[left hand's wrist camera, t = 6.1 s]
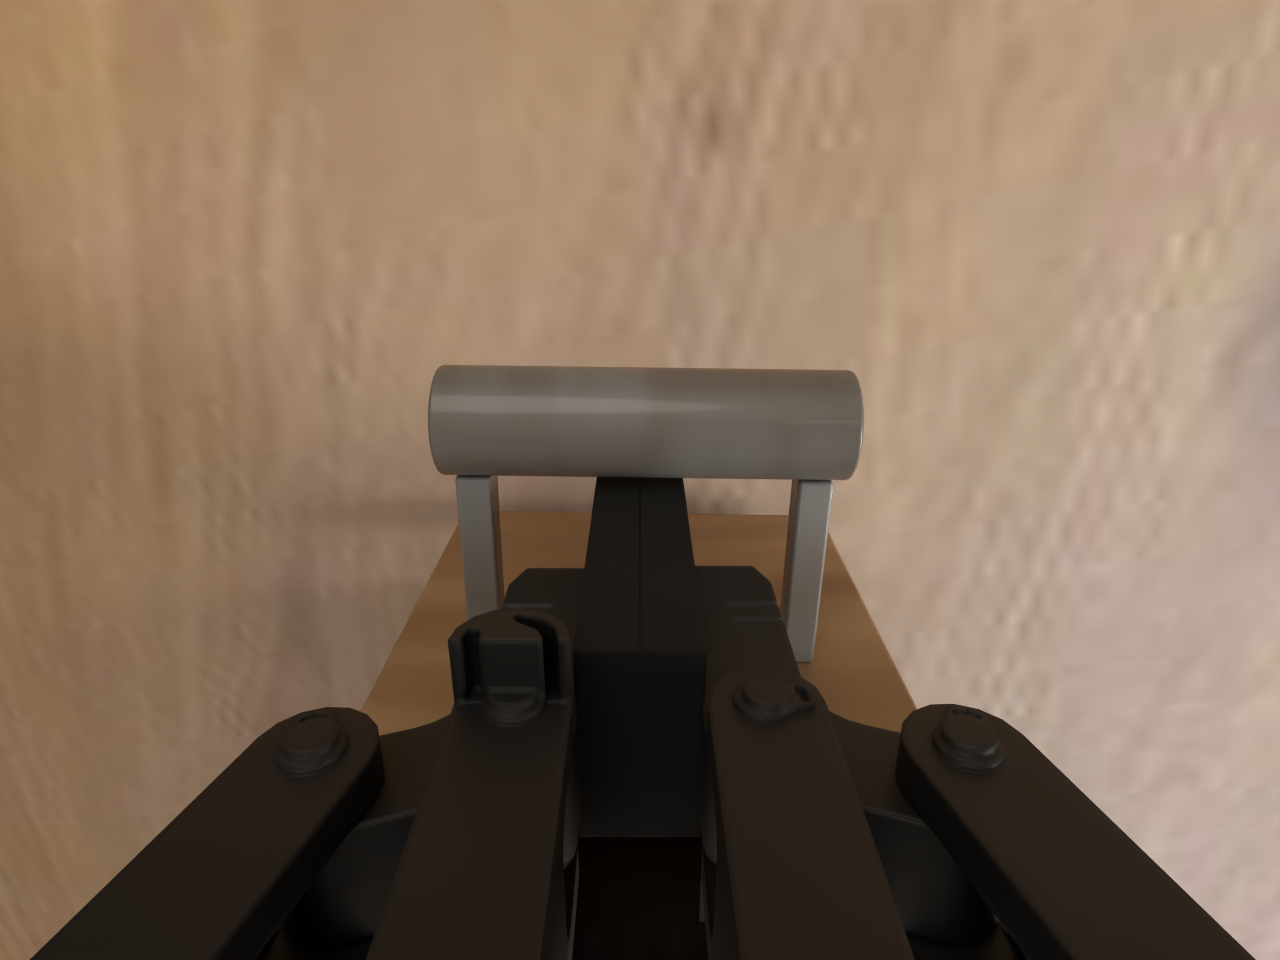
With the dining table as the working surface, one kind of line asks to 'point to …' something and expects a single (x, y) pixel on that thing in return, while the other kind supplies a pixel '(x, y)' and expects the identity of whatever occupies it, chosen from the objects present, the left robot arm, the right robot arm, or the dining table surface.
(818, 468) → the drawer
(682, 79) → the dining table surface
